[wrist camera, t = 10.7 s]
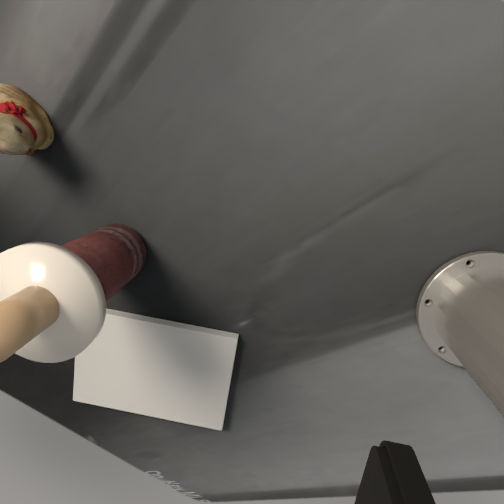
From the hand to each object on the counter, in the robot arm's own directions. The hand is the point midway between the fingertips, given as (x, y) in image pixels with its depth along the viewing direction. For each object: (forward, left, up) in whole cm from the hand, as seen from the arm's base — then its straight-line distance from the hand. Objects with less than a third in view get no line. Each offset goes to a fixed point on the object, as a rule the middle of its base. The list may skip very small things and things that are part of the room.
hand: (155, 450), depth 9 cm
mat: (+9, +20, -33) cm, 40 cm away
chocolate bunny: (+25, -5, -34) cm, 42 cm away
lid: (+14, +7, -19) cm, 25 cm away
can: (+14, +7, -34) cm, 37 cm away
